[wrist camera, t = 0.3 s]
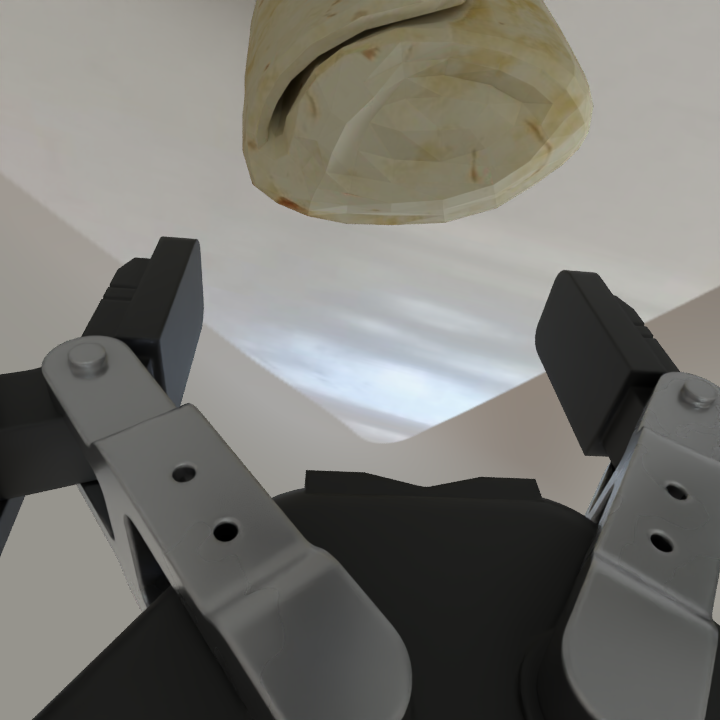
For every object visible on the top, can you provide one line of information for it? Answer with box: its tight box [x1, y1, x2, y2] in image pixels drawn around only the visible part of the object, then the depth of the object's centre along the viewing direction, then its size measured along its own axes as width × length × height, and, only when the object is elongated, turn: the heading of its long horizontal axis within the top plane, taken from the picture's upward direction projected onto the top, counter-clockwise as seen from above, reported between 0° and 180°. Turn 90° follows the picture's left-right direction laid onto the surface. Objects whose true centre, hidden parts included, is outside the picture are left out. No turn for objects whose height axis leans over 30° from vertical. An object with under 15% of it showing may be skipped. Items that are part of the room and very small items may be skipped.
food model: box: [243, 0, 593, 225], centre depth 20 cm, size 10×7×20 cm
